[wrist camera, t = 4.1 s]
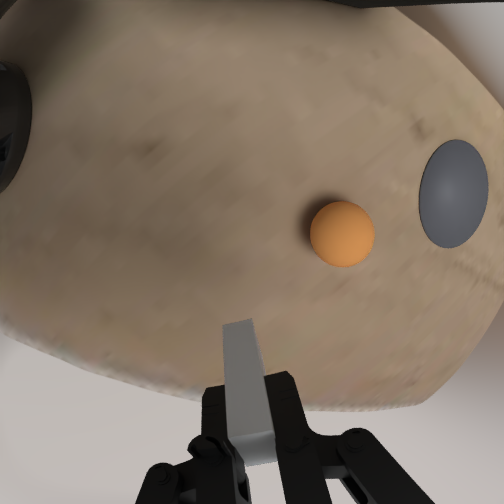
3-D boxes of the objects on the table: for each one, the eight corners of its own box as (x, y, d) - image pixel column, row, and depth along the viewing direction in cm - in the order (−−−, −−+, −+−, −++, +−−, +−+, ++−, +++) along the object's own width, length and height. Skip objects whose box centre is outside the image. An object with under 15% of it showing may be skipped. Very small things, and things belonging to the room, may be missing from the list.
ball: (306, 258, 27) (326, 286, 22) (297, 201, 24) (318, 219, 19) (358, 244, 27) (386, 268, 22) (354, 190, 24) (385, 204, 19)
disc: (418, 259, 28) (418, 259, 28) (414, 142, 23) (416, 142, 23) (484, 235, 29) (485, 235, 28) (485, 138, 23) (486, 139, 23)
